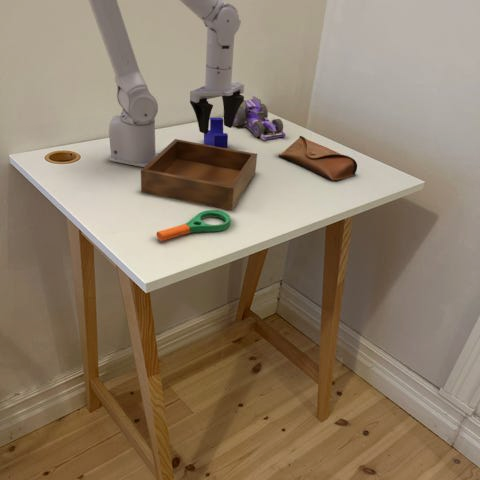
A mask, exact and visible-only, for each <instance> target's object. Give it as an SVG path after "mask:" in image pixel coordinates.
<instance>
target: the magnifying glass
mask: <svg viewBox="0 0 480 480" xmlns="http://www.w3.org/2000/svg"><path fill="white" fill-rule="evenodd" d="M208 217H213V218H214V217H215V218H219V219H221V220H223V221H224V222H222V223H220V224H211V223H206V222H204V221H202V219H204V218H208ZM230 226H231V216H230V214H228V213H227V212H225V211H223V210H218V209H207V210H203V211H200V212H198V213H197V214H196V215H195V216H194V217H192V218H191V219H190V220H189V221H188V222H186V223H183V224H180V225H176V226H173V227H169V228H166V229H162V230H158V231H156V233H155V234H156V237H157V239H158V240H159V241H161V242H163V241H167V240H170V239H174V238H177V237H180V236H183V235H186V234H190V233H191V234H192V233H209V232H222V231H224V230H227V229H228V228H229V227H230Z"/></svg>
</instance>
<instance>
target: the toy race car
mask: <svg viewBox="0 0 480 480" xmlns="http://www.w3.org/2000/svg"><path fill="white" fill-rule="evenodd" d="M268 116H269V112H268V107H267V106H266V104H265V103H262V101H261V99H260V98H258V97H256V96H254V95H253V96H252V98H250V99H244V101H243V102H242V104H241V105H240V107H239V109H238V111H237V113H236V116H235V119H234V122H233V125H232V127H240V126H244V125H245V128H246V129H248V130H249V131H250V132H251V133H252V135H253V137H255V138H260V139H261V140H262V141H265V142H266V140H269V139H276V138H281V137H282V138H286V132H284V123H283V121H282V119H280V118H275V119H272V120H270V119H268ZM265 133H271V134H266V135H265Z"/></svg>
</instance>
